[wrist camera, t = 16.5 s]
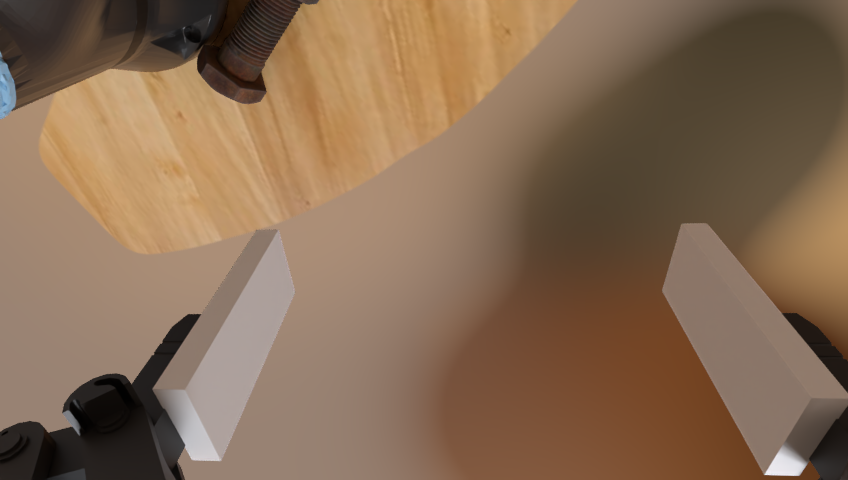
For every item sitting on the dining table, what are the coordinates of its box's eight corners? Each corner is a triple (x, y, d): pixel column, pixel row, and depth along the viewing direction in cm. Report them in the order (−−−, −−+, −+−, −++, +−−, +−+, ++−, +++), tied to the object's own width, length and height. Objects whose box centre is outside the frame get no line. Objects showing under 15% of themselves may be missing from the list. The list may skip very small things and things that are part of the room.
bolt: (344, -74, 37) (250, 77, 43) (287, -122, 33) (194, 50, 40) (365, -44, 33) (260, 115, 40) (304, -95, 30) (199, 88, 36)
